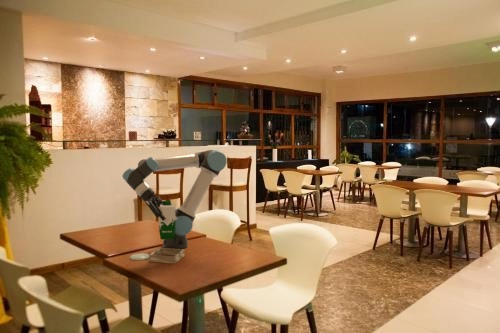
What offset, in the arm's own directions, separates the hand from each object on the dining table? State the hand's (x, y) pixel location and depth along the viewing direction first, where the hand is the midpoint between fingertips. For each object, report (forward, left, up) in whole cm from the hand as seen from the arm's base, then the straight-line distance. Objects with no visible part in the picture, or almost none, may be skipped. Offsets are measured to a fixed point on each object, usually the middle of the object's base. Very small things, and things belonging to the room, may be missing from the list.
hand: (172, 222), depth 210 cm
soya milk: (0, -3, -9) cm, 10 cm away
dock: (0, -3, -20) cm, 21 cm away
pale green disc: (+2, -18, -20) cm, 27 cm away
